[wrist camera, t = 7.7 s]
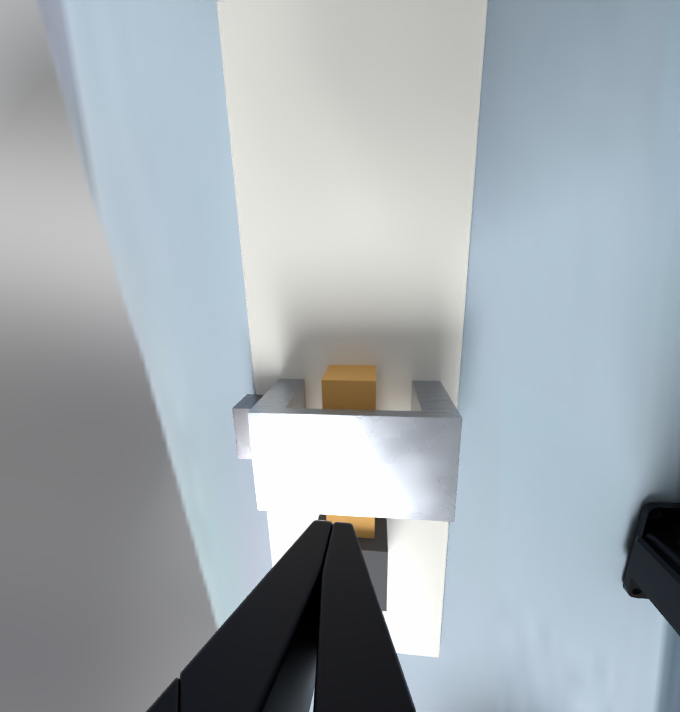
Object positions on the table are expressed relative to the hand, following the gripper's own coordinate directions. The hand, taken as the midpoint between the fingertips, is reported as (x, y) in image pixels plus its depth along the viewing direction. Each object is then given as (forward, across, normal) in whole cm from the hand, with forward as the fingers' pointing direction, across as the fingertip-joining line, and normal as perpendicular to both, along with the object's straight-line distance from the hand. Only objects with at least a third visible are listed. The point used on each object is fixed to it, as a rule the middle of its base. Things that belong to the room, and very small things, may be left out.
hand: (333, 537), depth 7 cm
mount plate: (+12, 0, +2) cm, 12 cm away
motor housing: (+11, 0, +3) cm, 12 cm away
